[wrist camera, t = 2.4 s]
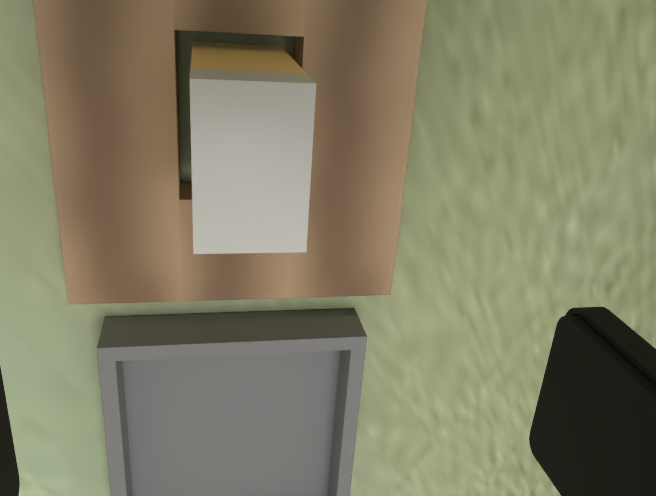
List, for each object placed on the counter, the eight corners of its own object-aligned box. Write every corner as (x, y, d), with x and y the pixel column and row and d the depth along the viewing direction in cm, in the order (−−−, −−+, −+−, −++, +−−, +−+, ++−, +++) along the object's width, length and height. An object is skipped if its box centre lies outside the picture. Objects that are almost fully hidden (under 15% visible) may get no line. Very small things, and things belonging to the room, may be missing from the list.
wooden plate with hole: (419, -88, 28) (438, -93, 26) (378, 273, 35) (390, 294, 33) (34, -126, 25) (17, -134, 22) (77, 280, 32) (68, 304, 30)
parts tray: (354, 308, 36) (367, 336, 33) (334, 509, 42) (343, 547, 39) (105, 316, 33) (96, 348, 30) (124, 530, 39) (118, 572, 37)
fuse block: (280, 45, 29) (316, 83, 20) (275, 169, 31) (306, 252, 23) (192, 41, 28) (189, 78, 19) (194, 168, 31) (193, 254, 22)
